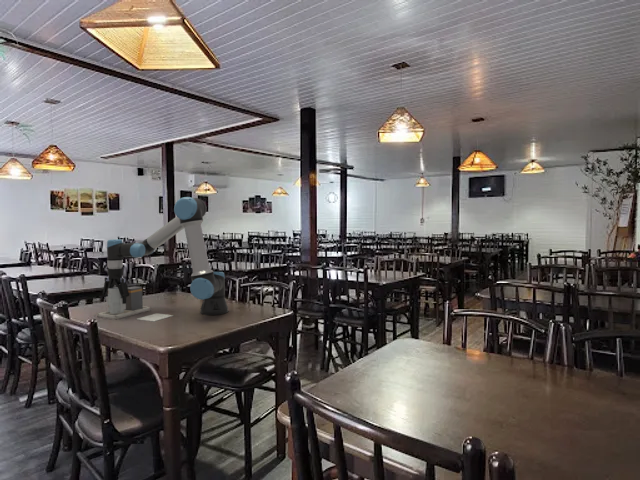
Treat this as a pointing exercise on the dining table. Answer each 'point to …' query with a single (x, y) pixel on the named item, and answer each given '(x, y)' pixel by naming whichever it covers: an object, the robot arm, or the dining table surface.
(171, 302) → the dining table surface
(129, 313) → the beige rectangular board
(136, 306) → the twin block
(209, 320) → the dining table surface
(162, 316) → the mat
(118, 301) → the small box
